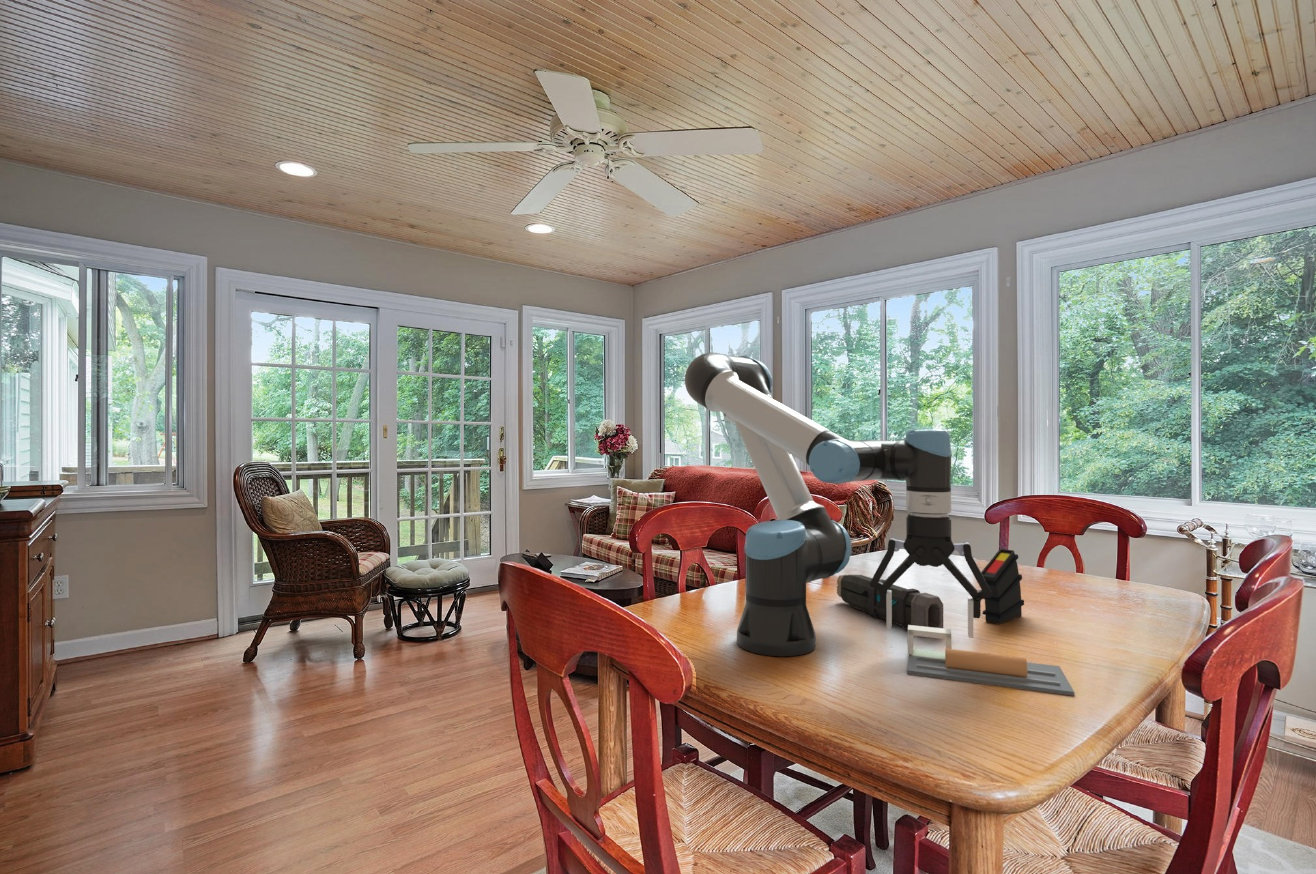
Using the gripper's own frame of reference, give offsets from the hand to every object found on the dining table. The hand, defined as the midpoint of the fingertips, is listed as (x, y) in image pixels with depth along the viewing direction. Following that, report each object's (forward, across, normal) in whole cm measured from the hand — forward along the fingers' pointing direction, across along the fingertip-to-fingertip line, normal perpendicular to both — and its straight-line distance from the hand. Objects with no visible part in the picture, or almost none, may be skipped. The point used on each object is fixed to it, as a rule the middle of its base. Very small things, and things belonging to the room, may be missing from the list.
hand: (928, 631), depth 114 cm
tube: (+5, -9, +24) cm, 26 cm away
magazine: (+5, +15, +32) cm, 36 cm away
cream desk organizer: (+4, 0, 0) cm, 4 cm away
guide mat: (+5, +9, -4) cm, 11 cm away
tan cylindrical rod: (+4, +9, -5) cm, 11 cm away
